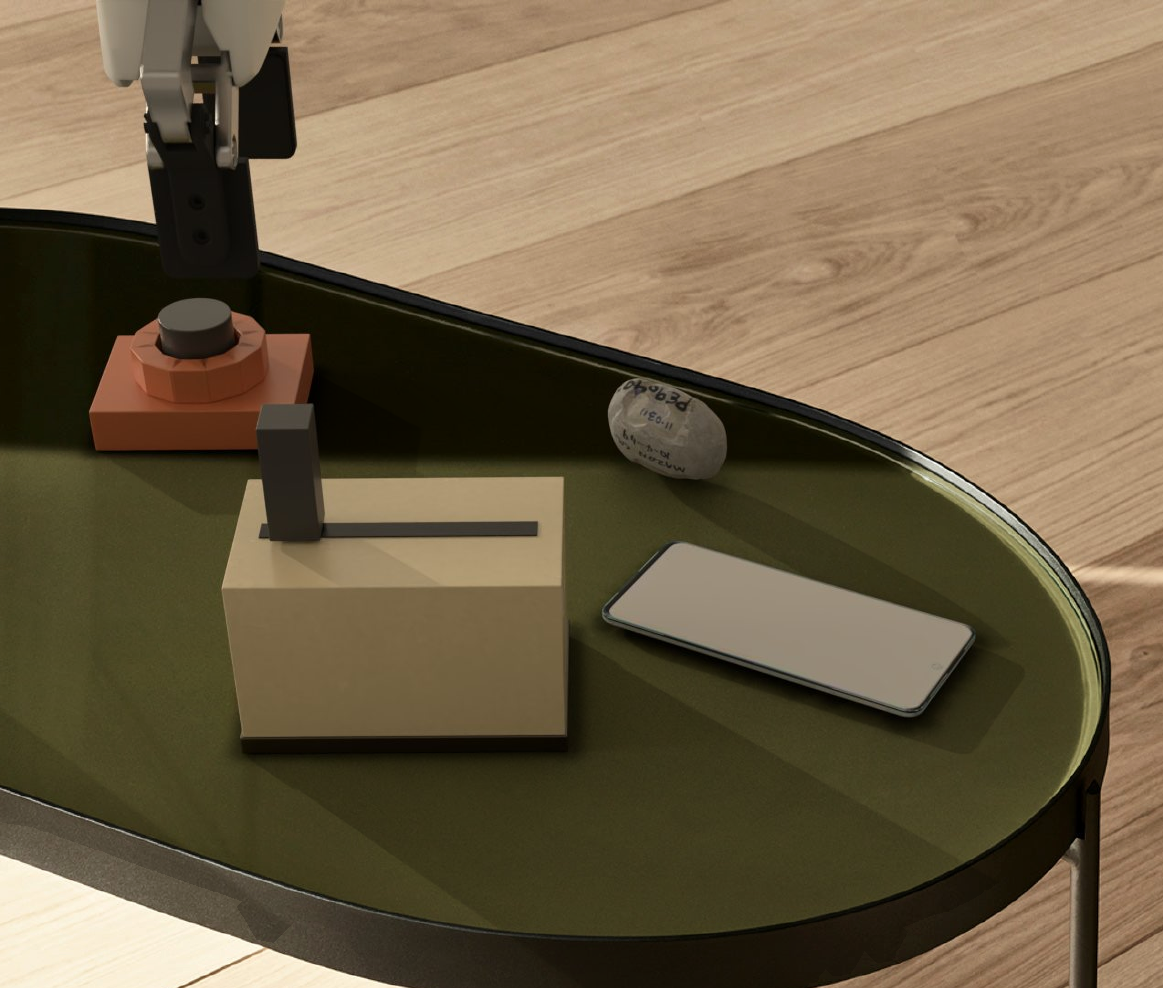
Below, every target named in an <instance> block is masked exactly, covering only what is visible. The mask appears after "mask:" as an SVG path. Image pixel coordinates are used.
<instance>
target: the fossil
mask: <svg viewBox="0 0 1163 988" xmlns="http://www.w3.org/2000/svg"><path fill="white" fill-rule="evenodd" d="M607 418H608V425H609V429H610V433H611V437H612V438H613V439H612V440H613V441H614V443H615V445H616V447H617V448H618V450H619V451H620V452H621V453H622V455H623V456H624V457H625V458H627V459H628V460H629V461H630V462H632V463H635V464H638V465H640V466H643V467H644V468H646V469H648V470H650V471H652V472H654V473H655V474H659V475H661V476H664V477H668V478H672V479H678V480H680V479H681V480H682V479H683V480H684V479H688V480H697V481H698V480H701V479H702V480H706V479H708V480H709V479H711V478H714V477H715V476H717V474H718V473H719V472H720V470H721V468H722V466H723V464H724V462H725V460H726V459H727V452H728V451H727V450H728V445H727V444H728V443H727V442H728V441H727V433H726V429H725V425H724V424H723V422H722V421H721V419H720V418H719V417H718V415H717V414H716V413H715V412H714V411H713V410H712V409H711V408H709V406H708V405H707V404H706V403H705V402H704V401H702V400H700V399H699V398H697V397H692V396H691V395H690V394H688V393H686V392H684V391H682V390H680V389H678V388H675V387H672V386H669V385H666V384H662V383H661V382H654V381H651V380H648V379H645V378H642V377H641V378H640V377H638V378H632V379H628V380H627V381H625V382H623V383H622V384H621V385H620V386H619V387H618V388H617V389H616V391H615V393H614V394H613V396H612V398H611V400H610V403H609V405H608V409H607Z"/></svg>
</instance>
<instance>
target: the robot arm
mask: <svg viewBox="0 0 1163 988" xmlns="http://www.w3.org/2000/svg"><path fill="white" fill-rule="evenodd" d="M285 4H286V0H95V7H96V16H97V23H98V31H99V32H98V33H99V39H100V40H99V41H100V49H101V57H102V64H103V72H104V73H105V75H106V76H107V78H108V80H110V81H111V82H112V83H113V84H114V85H115V86H116V87H118V88H128V87H130V86H131V85H132V84H133V82H134V81H139V79H140V85H141V90H142V93H143V96H144V99H145V103H146V104H145V113H144V114H143V118H144V120H145V122H143V123H142V124H143V131H144V133H145V157H146V162H147V163H146V165H147V173H148V178H149V185H150V191H151V199H152V205H153V206H152V208H153V212H154V221H155V227H156V233H157V240H158V241H157V242H158V248H159V254H160V255H159V256H160V261H161V268H162V271H163V273H164V274H165V275H166V276H167V277H169V278H171V279H244V280H245V279H252V278H254V277H256V275H257V274H258V272H259V269H260V265H261V255H260V246H259V237H258V229H257V221H256V220H257V219H256V212H255V211H256V210H255V204H254V203H255V202H254V193H253V185H252V177H251V175H252V174H251V167H250V166H251V165H250V160H289V159H291V158H293V157H294V156H295V154H296V150H297V148H298V140H297V139H298V137H297V127H296V118H295V117H296V116H295V107H294V106H295V105H294V99H293V98H294V97H293V87H292V78H291V77H292V76H291V66H290V55H289V47H288V46H271V45H272V44H274V45H275V44H280V45H281V44H283V42H284V41H283V40H284V21H283V20H284V19H283V11H284V7H285ZM193 57H196V58H197V63H192V58H193ZM196 94H199V95H200V94H201V97H202V102H194V98H195V95H196Z"/></svg>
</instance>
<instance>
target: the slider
mask: <svg viewBox="0 0 1163 988" xmlns="http://www.w3.org/2000/svg"><path fill="white" fill-rule="evenodd" d="M316 423H317V422H316V414H315V405H314V403H307V404H263V405H262V407H261V411H260V415H259V419H258V423H257V427H256V438H257V446H258V449H257V452H258V460H259V461H258V462H259V468H260V476H261V479H262V485H263V493H264V501H265V509H266V517H267V525H268V533H269V540H270V541H320V538H321V533H322V527H323V522H324V517H325V509H324V499H323V490H322V480H321V479H322V472H321V461H320V453H319V443H318V433H317V424H316Z"/></svg>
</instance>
